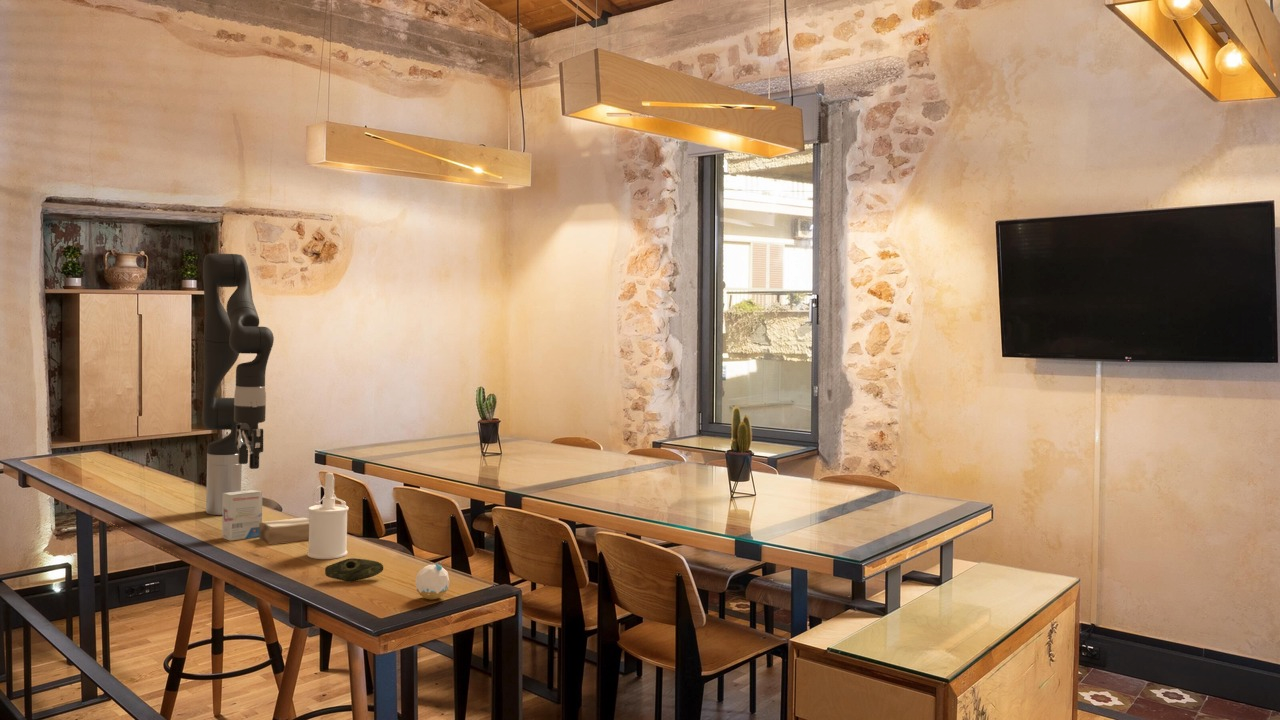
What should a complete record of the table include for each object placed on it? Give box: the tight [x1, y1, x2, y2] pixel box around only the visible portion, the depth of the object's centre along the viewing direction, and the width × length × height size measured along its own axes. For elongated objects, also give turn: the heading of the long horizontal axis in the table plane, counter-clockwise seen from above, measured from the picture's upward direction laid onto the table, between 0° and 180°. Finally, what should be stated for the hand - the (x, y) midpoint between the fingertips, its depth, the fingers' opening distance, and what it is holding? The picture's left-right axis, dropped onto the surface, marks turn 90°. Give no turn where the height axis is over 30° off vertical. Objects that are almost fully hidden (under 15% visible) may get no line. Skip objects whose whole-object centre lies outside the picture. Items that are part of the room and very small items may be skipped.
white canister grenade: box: [307, 471, 350, 560], centre depth 227 cm, size 10×9×20 cm
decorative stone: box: [324, 558, 384, 583], centre depth 205 cm, size 11×8×5 cm
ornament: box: [415, 561, 451, 601], centre depth 193 cm, size 7×7×8 cm
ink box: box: [221, 489, 263, 542], centre depth 241 cm, size 9×5×12 cm, turn 135°
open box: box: [258, 516, 309, 545], centre depth 241 cm, size 8×12×4 cm, turn 131°
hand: (248, 466), depth 241 cm, fingers open, 8 cm apart
